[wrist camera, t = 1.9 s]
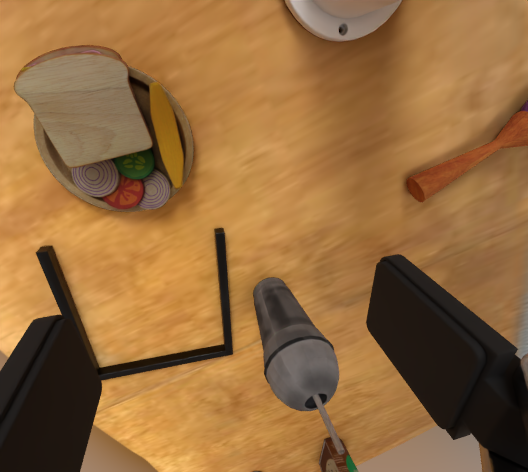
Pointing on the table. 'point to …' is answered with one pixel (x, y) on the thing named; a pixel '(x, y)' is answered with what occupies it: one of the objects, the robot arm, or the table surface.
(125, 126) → the toy sandwich meal
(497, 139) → the purple maraca
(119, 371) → the frame
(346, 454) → the food container
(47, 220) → the table surface
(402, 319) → the robot arm
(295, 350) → the beverage cup
